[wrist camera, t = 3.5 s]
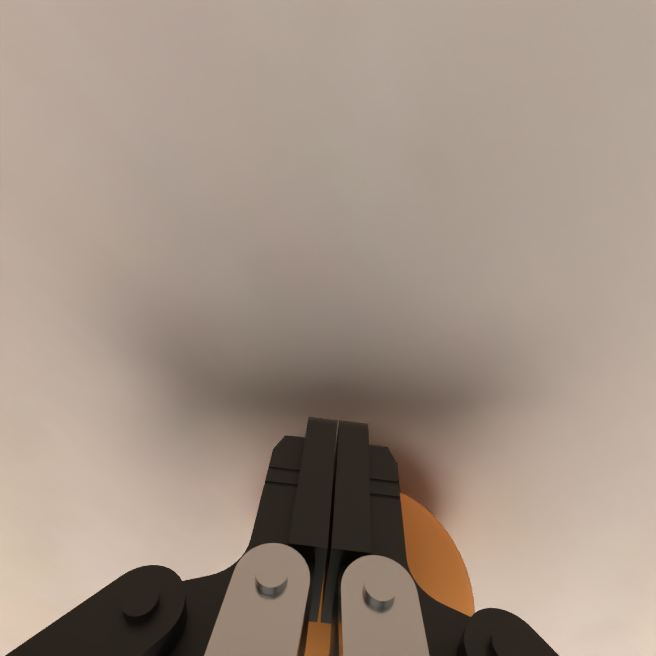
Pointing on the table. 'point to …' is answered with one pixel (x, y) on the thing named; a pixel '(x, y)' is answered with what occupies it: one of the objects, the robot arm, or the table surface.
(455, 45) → the table surface
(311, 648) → the ball
